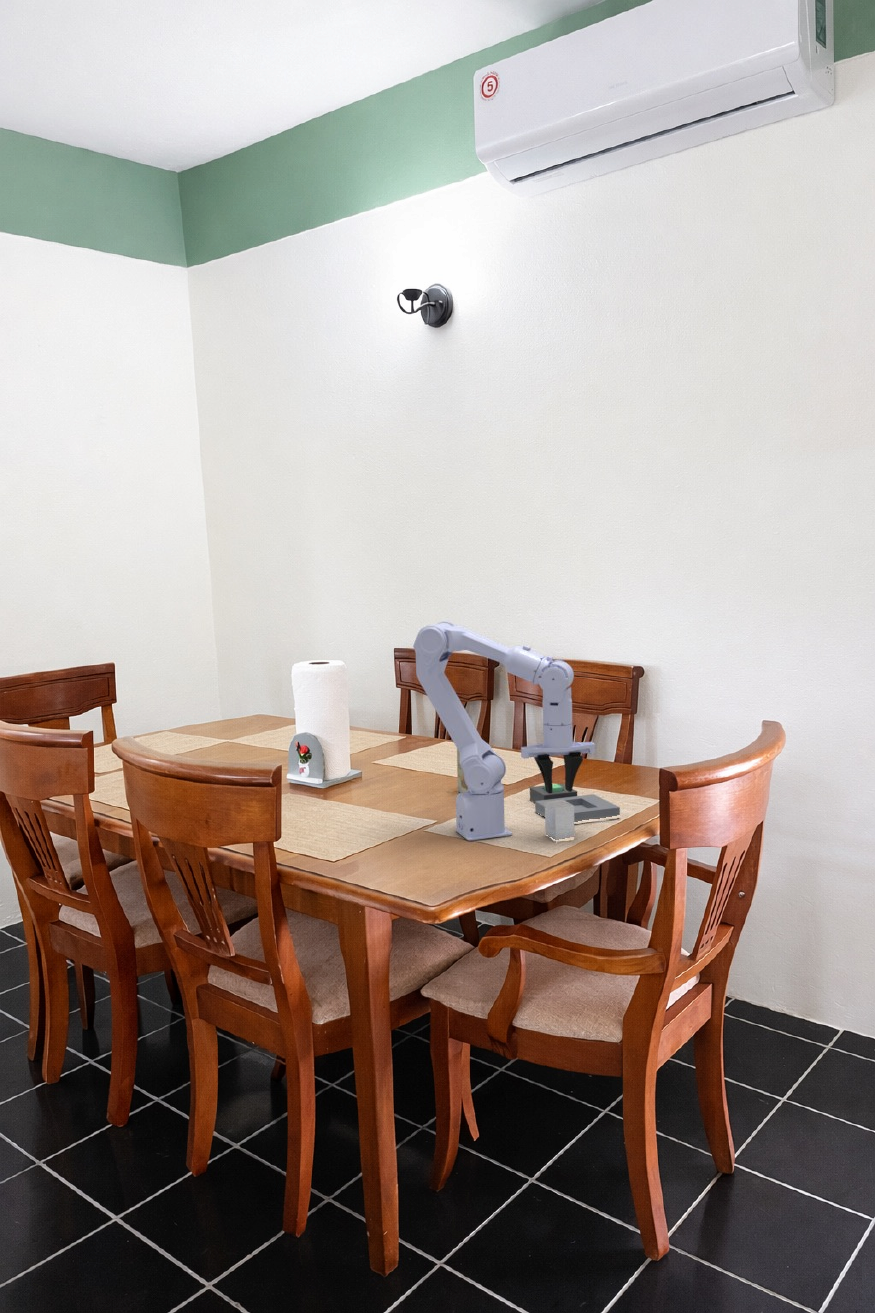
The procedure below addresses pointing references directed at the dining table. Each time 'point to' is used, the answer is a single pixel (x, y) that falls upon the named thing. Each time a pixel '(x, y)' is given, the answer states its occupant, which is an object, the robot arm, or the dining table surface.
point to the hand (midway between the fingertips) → (558, 791)
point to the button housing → (541, 794)
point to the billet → (559, 819)
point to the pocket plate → (584, 807)
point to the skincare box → (460, 776)
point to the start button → (555, 787)
